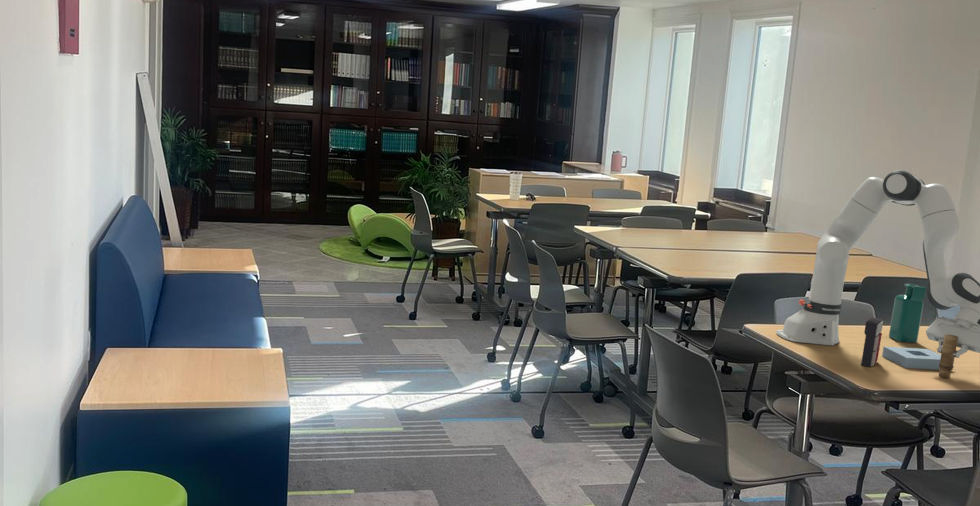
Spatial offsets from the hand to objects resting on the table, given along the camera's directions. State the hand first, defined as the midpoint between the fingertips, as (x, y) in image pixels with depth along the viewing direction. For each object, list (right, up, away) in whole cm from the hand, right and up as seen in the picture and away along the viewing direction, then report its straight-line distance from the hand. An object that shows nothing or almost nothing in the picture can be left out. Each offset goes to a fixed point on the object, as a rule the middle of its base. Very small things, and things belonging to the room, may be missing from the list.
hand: (947, 354), depth 303 cm
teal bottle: (+9, -1, +52) cm, 53 cm away
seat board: (-2, -5, +17) cm, 18 cm away
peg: (0, -8, +2) cm, 8 cm away
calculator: (-22, -5, +10) cm, 24 cm away
